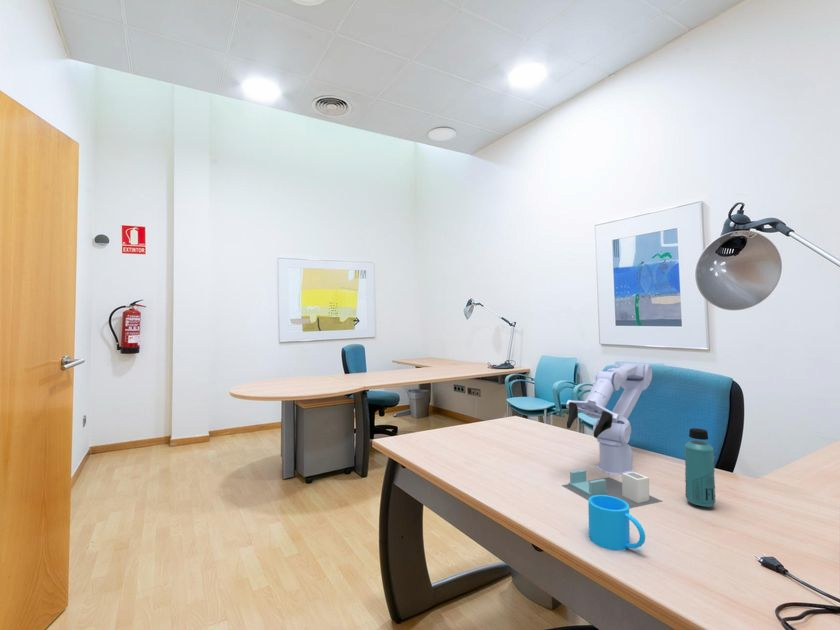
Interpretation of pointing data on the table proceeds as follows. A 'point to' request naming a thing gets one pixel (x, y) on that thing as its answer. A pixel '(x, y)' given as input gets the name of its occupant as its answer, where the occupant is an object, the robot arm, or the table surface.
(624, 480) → the connector plug
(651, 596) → the table surface
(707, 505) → the beverage bottle
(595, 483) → the connector holder
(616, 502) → the mug
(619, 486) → the desk mat
